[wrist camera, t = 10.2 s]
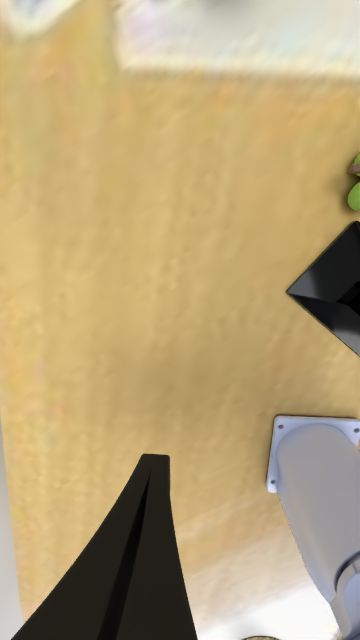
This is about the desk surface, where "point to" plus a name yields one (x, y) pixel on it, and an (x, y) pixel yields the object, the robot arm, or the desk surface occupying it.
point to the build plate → (334, 287)
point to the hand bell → (260, 638)
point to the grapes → (356, 198)
